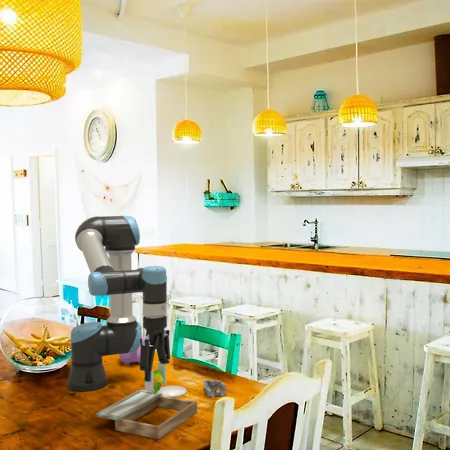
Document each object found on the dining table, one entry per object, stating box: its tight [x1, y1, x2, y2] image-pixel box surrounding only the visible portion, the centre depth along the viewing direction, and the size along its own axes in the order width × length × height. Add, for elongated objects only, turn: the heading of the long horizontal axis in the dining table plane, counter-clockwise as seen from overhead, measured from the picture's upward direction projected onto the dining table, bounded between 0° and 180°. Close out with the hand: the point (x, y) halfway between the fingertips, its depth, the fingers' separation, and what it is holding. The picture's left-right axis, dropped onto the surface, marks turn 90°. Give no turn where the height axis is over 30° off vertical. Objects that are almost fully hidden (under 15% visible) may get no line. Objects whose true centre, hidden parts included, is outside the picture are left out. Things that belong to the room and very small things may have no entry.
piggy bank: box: [118, 334, 145, 366], centre depth 241 cm, size 20×12×13 cm, turn 14°
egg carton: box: [203, 379, 227, 398], centre depth 201 cm, size 11×8×4 cm
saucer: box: [158, 385, 187, 398], centre depth 201 cm, size 11×11×1 cm
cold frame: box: [95, 389, 198, 440], centre depth 176 cm, size 23×24×4 cm
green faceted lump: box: [143, 369, 164, 395], centre depth 173 cm, size 7×6×9 cm
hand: (155, 386), depth 174 cm, fingers closed on green faceted lump, 6 cm apart
